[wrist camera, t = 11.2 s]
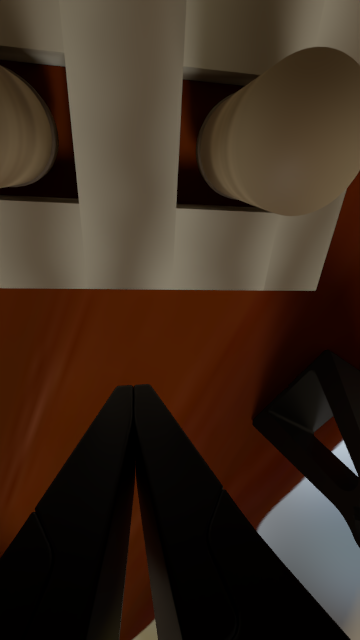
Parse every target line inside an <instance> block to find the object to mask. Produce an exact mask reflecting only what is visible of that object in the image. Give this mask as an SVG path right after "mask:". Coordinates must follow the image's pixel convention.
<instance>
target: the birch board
mask: <svg viewBox="0 0 360 640" xmlns="http://www.w3.org/2000/svg"><path fill="white" fill-rule="evenodd" d="M311 47H329V48H334V49H337V50H340V51H342V52H344V53H346V54H347V55H349V56H350V57H352V58H353V59H354V60H355V61H356V62H357V63H358V64H359V65H360V0H0V60H8V61H17V62H27V63H36V64H45V65H55V66H64V67H66V76H67V86H68V96H69V107H70V117H71V127H72V137H73V147H74V157H75V167H76V177H77V187H78V197H79V199H74V198H54V197H33V196H13V195H0V288H52V289H167V290H282V291H316V288H317V285H318V282H319V278H320V275H321V272H322V268H323V265H324V262H325V258H326V255H327V252H328V249H329V245H330V242H331V239H332V235H333V232H334V229H335V226H336V222H337V219H338V216H339V212H340V209H341V206H342V202H343V199H344V196H345V193H346V189H347V188H346V189H345V190H344V192H343V193H341V194H340V195H339V196H338V197H337V198H336V199H335V200H333V201H332V202H331V203H329V204H328V205H326V206H324V207H323V208H321V209H319V210H317V211H314V212H312V213H309V214H305V215H300V216H283V215H279V214H275V213H272V212H269V211H267V210H264V209H261V208H258V207H238V206H217V205H197V204H176V202H177V182H178V162H179V142H180V122H181V101H182V81H183V79H185V80H194V81H204V82H213V83H222V84H232V85H241V86H246V85H247V84H249V83H250V82H252V81H253V80H254V79H256V78H257V77H259V76H260V75H261V74H263V73H264V72H266V71H267V70H268V69H270V68H271V67H273V66H274V65H275V64H277V63H278V62H280V61H281V60H282V59H284V58H285V57H287V56H289V55H291V54H293V53H295V52H297V51H300V50H303V49H306V48H311Z"/></svg>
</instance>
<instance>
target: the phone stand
mask: <svg viewBox="0 0 360 640" xmlns="http://www.w3.org/2000/svg"><path fill="white" fill-rule="evenodd" d="M332 416H334V418H335V420H336V423H337V425H338V428H339V430H340V432H341V435H342V437H343V440H344V442H345V444H346V447H347V449H348V452H349V454H350V456H351V459H352V461H353V464H354V466H355V469H356V471H357V473H358V476H356V475H355V474H354V473H353V472H352V471H351V470H350V469H349V468H348V467H347V466H346V465H345V464H343V463H342V462H341V461H340V460H339V459H338V458H337V457H336V456H335V455H334V454H333V453H332V452H331V451H330V450H329V449H327V448H326V447H325V446H324V445H323V444H322V443H321V442H320V441H319V440H318V439H317V438H316V437H315V436H314V432H315V431H316V430H317V429H318V428H319V427H321V426H322V425H323V424H324V423H325V422H326V421H328V420H329V419H330V418H331V417H332ZM253 426H254V427H255V428H256V429H257V430H258V431H259V432H260V433H261V434H262V435H263V436H264V437H265V438H266V439H267V440H269V441H270V442H271V443H272V444H273V445H274V446H275V447H276V448H277V449H278V450H279V451H280V452H281V453H282V454H283V455H284V456H285V457H286V458H287V459H288V460H289V461H290V462H291V463H292V464H293V465H294V466H295V467H296V468H297V469H298V470H299V471H300V472H301V473H302V474H303V475H304V476H305V477H306V478H307V479H308V480H309V481H310V482H311V483H312V484H313V485H314V486H315V487H316V488H317V489H318V490H319V491H321V493H323V494H324V495H325V496H326V497H327V498H328V499H329V500H330V501H331V502H332V503H333V504H334V505H335V506H336V508H337V509H338V510H339V511H340V513H341V514H342V515H343V517H344V518H345V520H346V522H347V524H348V526H349V527H350V530H351V532H352V534H353V537H354V539H355V541H356V543H357V544H358V546H359V547H360V371H359V370H357V369H356V368H354V367H353V366H352V365H350V364H349V363H347V362H346V361H344V360H343V359H341V358H340V357H338V356H337V355H335V354H334V353H332V352H331V351H329V350H325V351H324V352H323V353H322V354H321V355H320V356H319V357H318V358H317V359H316V360H315V361H314V362H313V363H312V364H310V365H309V366H308V367H307V368H306V369H305V370H304V371H303V372H302V373H301V374H300V375H299V376H298V377H297V378H296V379H295V380H294V381H293V382H292V383H291V384H290V385H289V388H288V389H285V390H284V391H282V392H281V393H280V394H279V395H278V396H277V397H276V398H275V399H274V400H273V401H272V402H271V403H270V404H269V405H268V406H267V407H266V408H265V409H264V410H263V411H262V412H261V413H260V414H259V415H258V416H257V417H256V418H254V420H253Z"/></svg>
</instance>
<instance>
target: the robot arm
mask: <svg viewBox="0 0 360 640" xmlns="http://www.w3.org/2000/svg"><path fill="white" fill-rule="evenodd" d="M135 466H136V481H137V489H138V497H139V504H140V511H141V519H142V526H143V533H144V540H145V548H146V555H147V562H148V569H149V577H150V584H151V591H152V599H153V606H154V613H155V620H156V628H157V635H158V640H350V638H349V637H348V636H347V635H346V634H345V633H344V631H343V630H342V629H341V628H340V627H339V626H338V625H337V624H336V623H335V621H334V620H333V619H332V618H331V617H330V616H329V614H328V613H327V612H326V611H325V610H324V609H323V608H322V607H321V605H320V604H319V603H318V602H317V601H316V600H315V599H314V597H313V596H312V595H311V594H310V593H309V592H308V591H307V590H306V589H305V588H304V586H303V585H302V584H301V583H300V582H299V580H298V579H297V578H296V577H295V576H294V575H293V574H292V572H291V571H290V570H289V569H288V568H287V567H286V566H285V565H284V563H283V562H282V561H281V560H280V559H279V558H278V557H277V555H276V554H275V553H274V552H273V551H272V549H271V548H270V547H269V546H268V545H267V543H266V542H265V541H264V540H263V539H262V538H261V536H260V535H259V534H258V533H257V531H256V530H255V529H254V528H253V526H252V525H251V524H250V522H249V521H248V520H247V518H246V517H245V516H244V514H243V513H242V512H241V510H240V509H239V508H238V506H237V505H236V504H235V502H234V501H233V499H232V498H231V497H230V495H229V494H228V492H227V491H226V490H225V489H223V486H222V484H221V483H220V482H219V480H218V479H217V477H216V476H215V475H214V473H213V472H212V470H211V469H210V468H209V466H208V465H207V463H206V462H205V461H204V459H203V458H202V456H201V455H200V454H199V452H198V451H197V449H196V448H195V447H194V445H193V444H192V442H191V441H190V440H189V438H188V437H187V435H186V434H185V433H184V431H183V430H182V428H181V427H180V426H179V424H178V423H177V421H176V420H175V419H174V417H173V416H172V414H171V413H170V412H169V410H168V409H167V407H166V406H165V405H164V403H163V402H162V400H161V399H160V398H159V396H158V395H157V393H156V392H155V391H154V389H153V388H152V386H151V385H149V384H142V385H135V386H134V388H133V386H132V385H125V386H117V387H116V388H115V390H114V391H113V393H112V394H111V396H110V397H109V399H108V400H107V402H106V403H105V405H104V406H103V408H102V409H101V410H100V412H99V413H98V415H97V416H96V418H95V419H94V421H93V422H92V424H91V425H90V427H89V428H88V430H87V431H86V433H85V434H84V436H83V437H82V439H81V440H80V442H79V443H78V445H77V446H76V448H75V449H74V451H73V452H72V454H71V455H70V457H69V458H68V460H67V461H66V463H65V464H64V466H63V467H62V469H61V470H60V472H59V473H58V475H57V476H56V478H55V479H54V481H53V482H52V484H51V485H50V487H49V488H48V489H47V491H46V492H45V494H44V495H43V497H42V498H41V500H40V501H39V503H38V504H37V506H36V507H35V512H32V513H31V514H30V516H29V517H28V519H27V520H26V522H25V523H24V525H23V526H22V528H21V529H20V531H19V532H18V534H17V535H16V537H15V538H14V540H13V541H12V542H11V544H10V545H9V547H8V548H7V550H6V551H5V552H4V554H3V555H2V557H1V558H0V640H119V634H120V624H121V614H122V604H123V595H124V585H125V575H126V565H127V555H128V545H129V535H130V525H131V515H132V505H133V495H134V485H135Z"/></svg>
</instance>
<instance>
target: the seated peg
mask: <svg viewBox="0 0 360 640" xmlns="http://www.w3.org/2000/svg"><path fill="white" fill-rule="evenodd" d="M58 146H59V140H58V132H57V127H56V124H55V120H54V118H53V116H52V113H51V111H50V110H49V108H48V106H47V105H46V103H45V102H44V100H43V99H42V98H41V96H40V95H39V94H38V93H37V91H36V90H35V89H34V88H33V87H32V86H31V85H30V84H29V83H28V82H27V81H25V80H24V79H23V78H22V77H20V76H19V75H18V74H16V73H14V72H13V71H11V70H10V69H8V68H6V67H4V66H1V65H0V188H4V187H20V186H26V185H29V184H32V183H34V182H36V181H38V180H39V179H41V178H42V177H43V176H45V175H46V174H47V173H48V172H49V171H50V169H51V168H52V167H53V165H54V163H55V160H56V157H57V154H58Z"/></svg>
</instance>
